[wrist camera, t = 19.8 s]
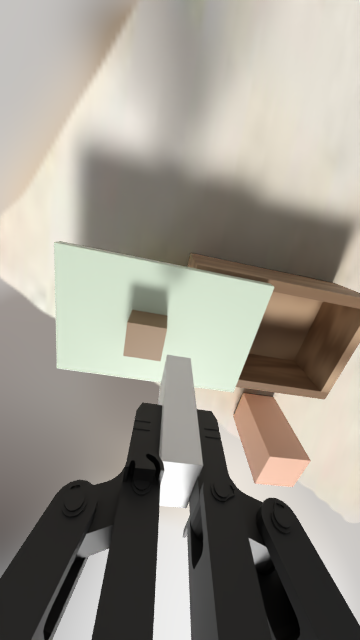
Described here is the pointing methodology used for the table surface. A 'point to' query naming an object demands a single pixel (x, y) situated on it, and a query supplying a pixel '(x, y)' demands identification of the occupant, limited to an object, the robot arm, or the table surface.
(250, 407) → the key block
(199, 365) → the lid
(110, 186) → the table surface
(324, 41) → the table surface
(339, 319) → the wooden box
